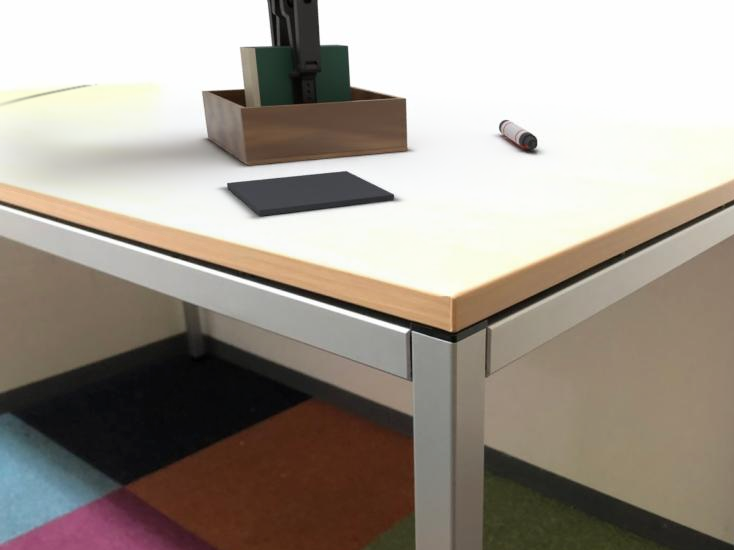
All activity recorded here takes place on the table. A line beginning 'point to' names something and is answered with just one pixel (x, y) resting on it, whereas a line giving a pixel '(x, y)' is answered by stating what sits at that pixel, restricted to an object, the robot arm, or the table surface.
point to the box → (306, 127)
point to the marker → (518, 135)
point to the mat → (307, 192)
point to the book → (274, 87)
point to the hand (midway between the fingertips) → (301, 131)
